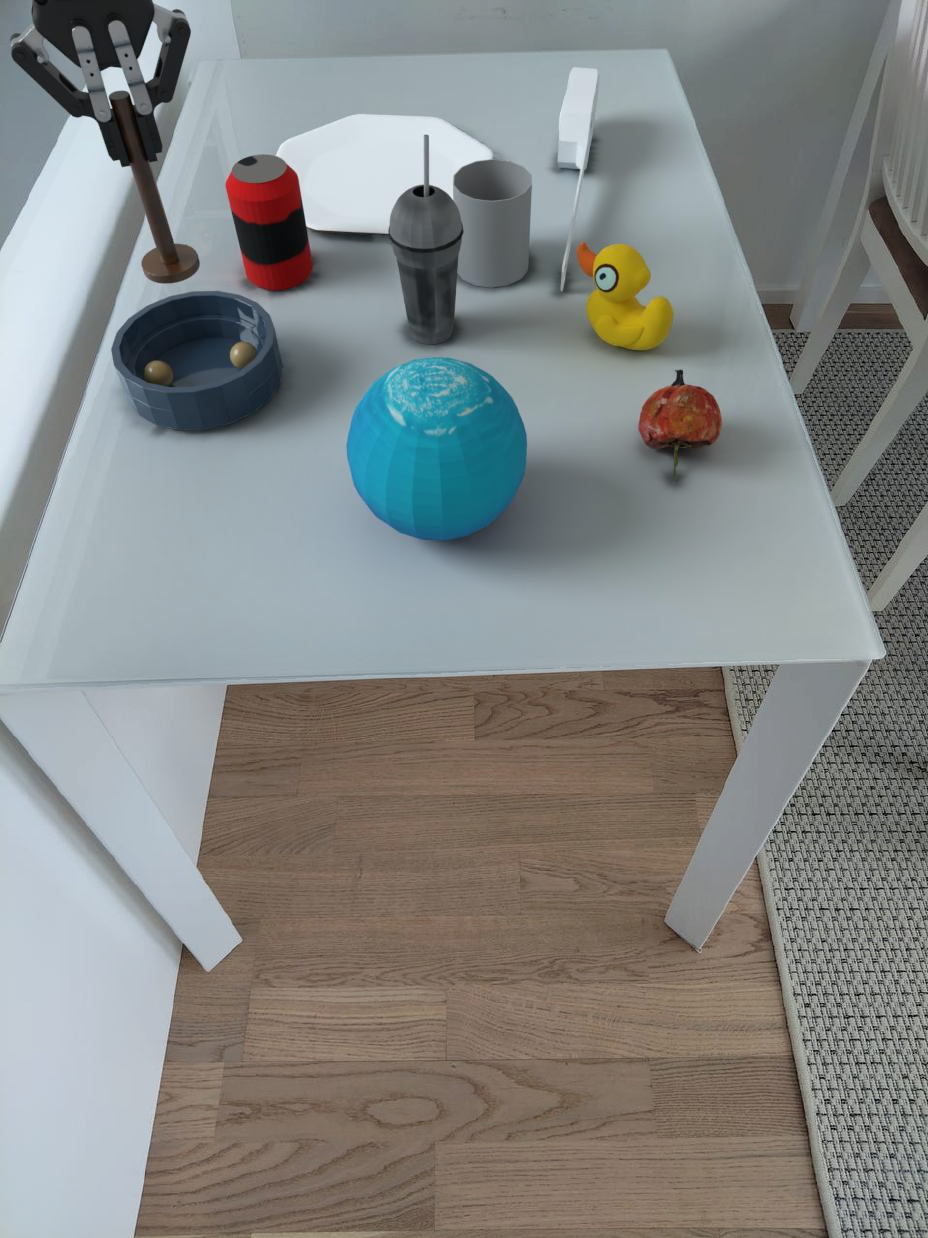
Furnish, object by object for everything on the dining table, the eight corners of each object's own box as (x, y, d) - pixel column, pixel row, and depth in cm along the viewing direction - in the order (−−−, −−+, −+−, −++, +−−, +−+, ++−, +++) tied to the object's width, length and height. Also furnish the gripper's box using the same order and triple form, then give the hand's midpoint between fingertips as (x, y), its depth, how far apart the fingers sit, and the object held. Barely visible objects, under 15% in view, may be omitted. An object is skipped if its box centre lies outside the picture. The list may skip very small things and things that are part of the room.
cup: (439, 268, 104) (436, 182, 96) (485, 236, 108) (486, 151, 100) (497, 296, 101) (499, 210, 93) (543, 262, 105) (548, 176, 96)
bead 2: (236, 378, 93) (229, 356, 90) (231, 361, 94) (224, 339, 92) (263, 372, 93) (257, 349, 91) (258, 356, 95) (252, 333, 92)
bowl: (138, 450, 88) (121, 408, 84) (120, 351, 96) (103, 309, 92) (298, 412, 90) (289, 370, 86) (266, 320, 99) (257, 277, 95)
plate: (245, 236, 109) (242, 224, 107) (297, 121, 125) (295, 110, 123) (477, 248, 106) (477, 236, 105) (499, 130, 122) (500, 118, 121)
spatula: (524, 307, 104) (560, 311, 103) (526, 245, 97) (565, 249, 96) (565, 115, 123) (595, 118, 122) (569, 52, 116) (601, 54, 115)
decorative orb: (356, 458, 87) (336, 323, 74) (515, 448, 87) (520, 312, 75) (357, 583, 78) (334, 453, 66) (533, 571, 78) (543, 440, 66)
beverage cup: (386, 343, 97) (366, 153, 80) (414, 303, 100) (400, 115, 84) (450, 359, 95) (442, 169, 79) (476, 318, 99) (474, 129, 83)
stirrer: (147, 288, 81) (88, 115, 69) (140, 257, 84) (83, 85, 72) (204, 276, 82) (155, 103, 70) (195, 246, 85) (147, 75, 73)
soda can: (285, 245, 107) (266, 141, 98) (327, 271, 104) (311, 167, 95) (233, 272, 104) (207, 168, 95) (273, 300, 101) (251, 196, 91)
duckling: (557, 330, 97) (563, 243, 89) (586, 305, 100) (595, 219, 92) (648, 373, 93) (664, 286, 85) (676, 346, 95) (694, 259, 87)
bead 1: (150, 398, 91) (141, 375, 89) (146, 380, 93) (138, 357, 91) (178, 391, 92) (170, 369, 89) (174, 374, 93) (166, 351, 91)
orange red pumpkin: (712, 489, 86) (729, 383, 86) (712, 477, 79) (730, 362, 79) (633, 480, 88) (649, 377, 88) (626, 468, 81) (643, 356, 81)
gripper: (-49, -67, 57) (56, 199, 72) (171, -96, 60) (230, 166, 74) (-50, -106, 62) (49, 152, 76) (156, -132, 64) (215, 123, 78)
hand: (139, 158), depth 75 cm, fingers closed on stirrer
